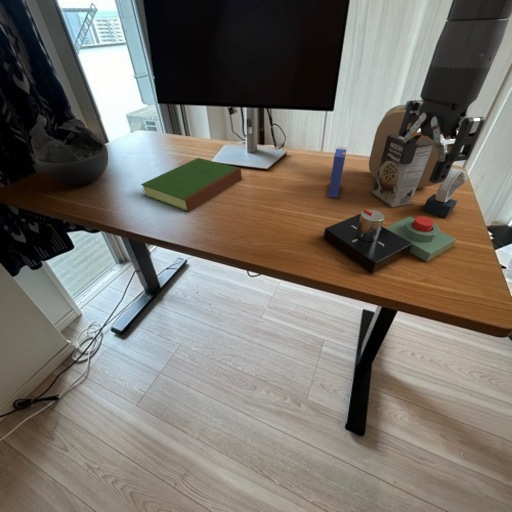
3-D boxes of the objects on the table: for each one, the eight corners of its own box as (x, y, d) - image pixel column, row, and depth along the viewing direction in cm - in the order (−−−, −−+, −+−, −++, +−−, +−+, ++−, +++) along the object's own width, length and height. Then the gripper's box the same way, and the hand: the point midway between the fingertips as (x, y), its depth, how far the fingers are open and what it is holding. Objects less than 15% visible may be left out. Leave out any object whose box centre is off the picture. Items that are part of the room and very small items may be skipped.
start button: (434, 229, 57) (437, 222, 56) (424, 234, 56) (427, 227, 55) (419, 221, 60) (422, 214, 59) (408, 226, 58) (411, 219, 57)
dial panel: (407, 254, 57) (413, 242, 55) (371, 274, 53) (375, 262, 51) (357, 224, 66) (359, 213, 64) (323, 238, 62) (324, 227, 60)
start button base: (451, 247, 58) (460, 231, 56) (426, 262, 55) (434, 246, 52) (406, 223, 65) (412, 209, 63) (381, 235, 62) (386, 221, 60)
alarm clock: (439, 180, 83) (473, 100, 69) (439, 193, 76) (476, 108, 62) (369, 170, 90) (387, 96, 76) (364, 181, 84) (382, 103, 70)
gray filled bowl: (129, 178, 92) (107, 118, 80) (70, 202, 80) (34, 135, 68) (98, 166, 102) (75, 110, 90) (42, 185, 90) (6, 125, 78)
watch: (454, 209, 70) (475, 167, 63) (442, 220, 66) (463, 178, 59) (432, 201, 73) (449, 161, 66) (419, 212, 69) (436, 171, 62)
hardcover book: (188, 212, 73) (186, 200, 71) (144, 195, 82) (141, 184, 79) (243, 178, 89) (242, 167, 86) (201, 167, 97) (199, 157, 95)
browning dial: (382, 236, 57) (389, 215, 53) (367, 243, 55) (374, 222, 52) (366, 227, 60) (371, 206, 56) (351, 233, 58) (356, 212, 55)
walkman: (337, 198, 76) (345, 155, 69) (327, 196, 77) (334, 154, 69) (340, 186, 82) (347, 145, 74) (330, 185, 83) (337, 145, 75)
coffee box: (370, 193, 78) (386, 134, 68) (389, 189, 79) (407, 131, 69) (391, 208, 71) (412, 145, 61) (412, 203, 73) (435, 141, 62)
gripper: (530, 65, 33) (467, 187, 44) (448, 57, 44) (413, 156, 54) (477, 69, 32) (426, 192, 43) (406, 59, 43) (379, 159, 54)
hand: (419, 172), depth 49 cm, fingers open, 8 cm apart
